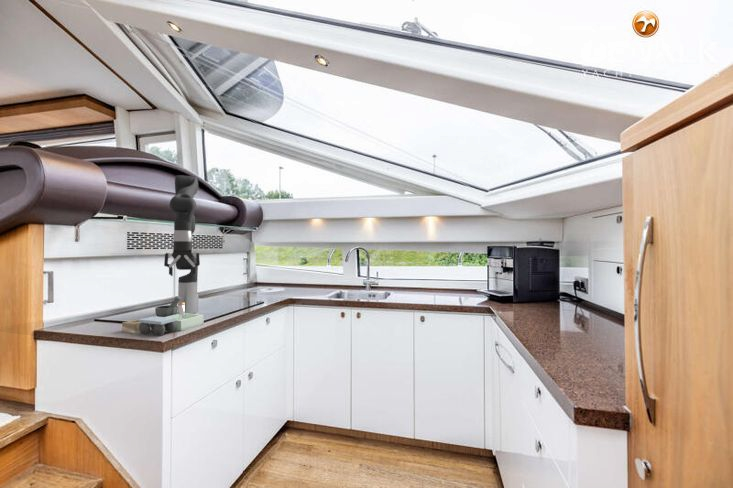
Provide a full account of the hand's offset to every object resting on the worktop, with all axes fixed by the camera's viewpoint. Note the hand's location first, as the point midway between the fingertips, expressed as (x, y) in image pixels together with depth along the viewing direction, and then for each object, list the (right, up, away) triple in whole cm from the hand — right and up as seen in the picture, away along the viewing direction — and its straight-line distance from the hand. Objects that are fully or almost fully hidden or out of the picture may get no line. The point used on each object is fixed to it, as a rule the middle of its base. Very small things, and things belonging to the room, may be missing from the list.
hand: (182, 275), depth 151 cm
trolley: (-4, -24, -12) cm, 27 cm away
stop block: (-16, -23, -8) cm, 29 cm away
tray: (0, -24, 0) cm, 24 cm away
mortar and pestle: (-13, -24, +11) cm, 29 cm away
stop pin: (0, -23, 0) cm, 23 cm away
